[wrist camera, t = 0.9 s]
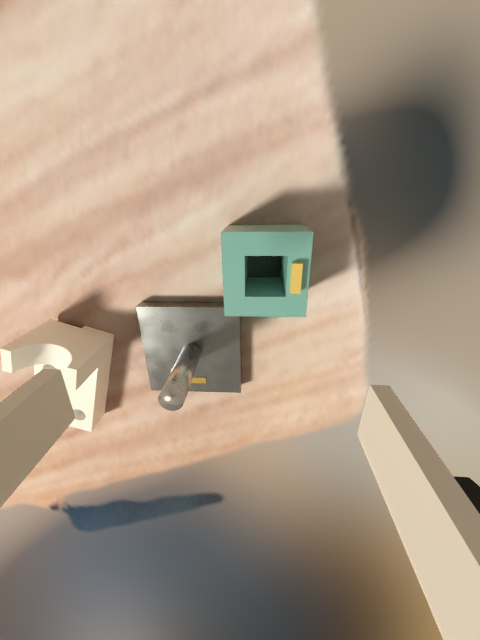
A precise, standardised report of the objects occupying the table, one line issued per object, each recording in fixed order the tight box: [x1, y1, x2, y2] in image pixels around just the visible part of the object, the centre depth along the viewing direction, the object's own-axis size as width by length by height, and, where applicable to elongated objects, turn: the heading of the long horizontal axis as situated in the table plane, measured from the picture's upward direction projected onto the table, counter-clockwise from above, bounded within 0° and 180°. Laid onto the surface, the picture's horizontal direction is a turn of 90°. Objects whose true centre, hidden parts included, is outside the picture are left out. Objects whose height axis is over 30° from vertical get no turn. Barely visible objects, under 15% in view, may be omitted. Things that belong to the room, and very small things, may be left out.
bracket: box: [0, 319, 114, 432], centre depth 31 cm, size 13×7×8 cm, turn 163°
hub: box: [221, 224, 314, 317], centre depth 24 cm, size 7×7×7 cm
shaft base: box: [136, 302, 241, 411], centre depth 28 cm, size 11×11×10 cm
